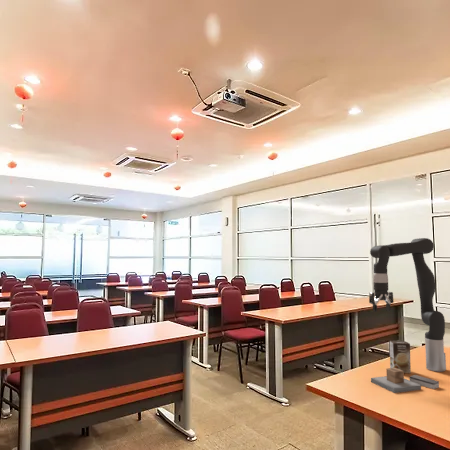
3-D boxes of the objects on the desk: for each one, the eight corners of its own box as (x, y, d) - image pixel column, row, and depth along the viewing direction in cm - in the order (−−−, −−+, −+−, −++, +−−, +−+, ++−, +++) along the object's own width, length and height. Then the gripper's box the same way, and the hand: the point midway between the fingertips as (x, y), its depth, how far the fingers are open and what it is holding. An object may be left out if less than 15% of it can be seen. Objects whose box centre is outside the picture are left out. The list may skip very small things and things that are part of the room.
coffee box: (394, 372, 202) (393, 343, 204) (389, 369, 209) (389, 340, 210) (411, 373, 201) (410, 343, 203) (406, 369, 208) (405, 341, 209)
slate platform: (396, 378, 192) (396, 374, 192) (421, 389, 177) (420, 385, 177) (371, 381, 187) (370, 377, 187) (394, 393, 172) (394, 388, 172)
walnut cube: (395, 378, 186) (395, 367, 186) (403, 382, 180) (403, 371, 181) (386, 379, 184) (386, 368, 184) (394, 383, 179) (394, 372, 179)
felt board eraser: (409, 382, 187) (409, 376, 187) (415, 381, 190) (414, 374, 190) (433, 390, 177) (433, 383, 177) (439, 388, 180) (438, 381, 180)
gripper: (386, 281, 208) (387, 309, 207) (365, 281, 204) (366, 310, 202) (396, 281, 201) (397, 311, 200) (374, 282, 197) (375, 312, 195)
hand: (381, 311), depth 201 cm, fingers open, 8 cm apart
